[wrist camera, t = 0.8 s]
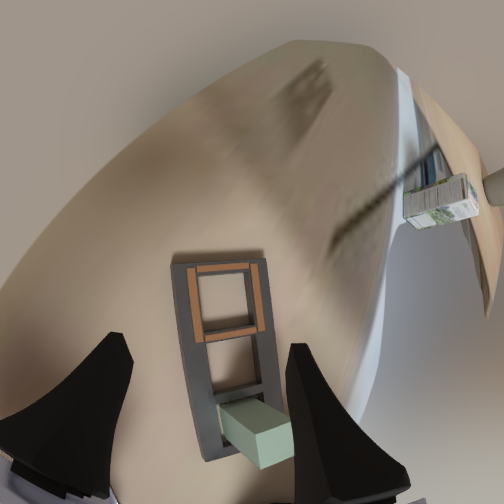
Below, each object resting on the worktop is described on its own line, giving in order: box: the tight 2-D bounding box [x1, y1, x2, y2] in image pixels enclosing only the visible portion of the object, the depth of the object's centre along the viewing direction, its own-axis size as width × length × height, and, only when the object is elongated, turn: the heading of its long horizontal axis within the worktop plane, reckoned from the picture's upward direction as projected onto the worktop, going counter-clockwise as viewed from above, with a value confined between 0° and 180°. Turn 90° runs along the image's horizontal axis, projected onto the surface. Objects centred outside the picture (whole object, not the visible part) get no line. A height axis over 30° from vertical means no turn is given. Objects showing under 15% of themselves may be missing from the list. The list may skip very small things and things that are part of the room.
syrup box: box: [403, 173, 479, 230], centre depth 43 cm, size 6×6×14 cm
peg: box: [219, 397, 294, 470], centre depth 24 cm, size 4×4×8 cm
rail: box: [170, 258, 284, 462], centre depth 27 cm, size 21×10×1 cm, turn 8°
